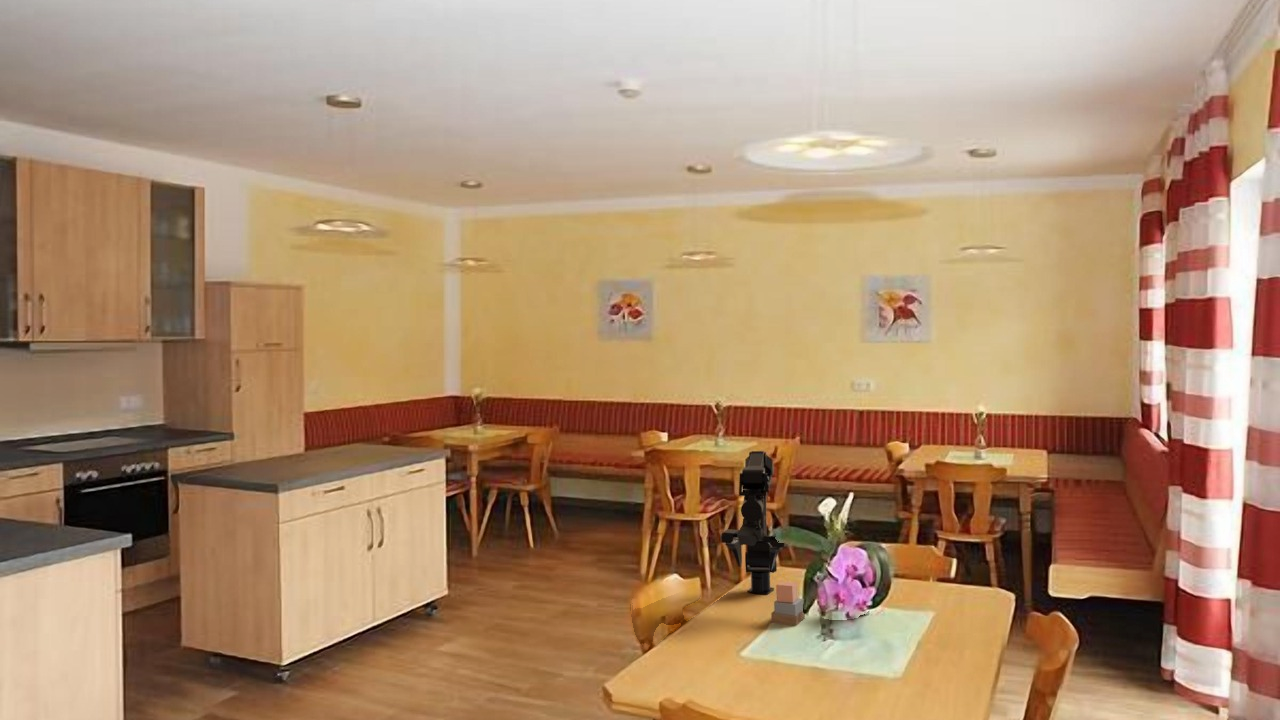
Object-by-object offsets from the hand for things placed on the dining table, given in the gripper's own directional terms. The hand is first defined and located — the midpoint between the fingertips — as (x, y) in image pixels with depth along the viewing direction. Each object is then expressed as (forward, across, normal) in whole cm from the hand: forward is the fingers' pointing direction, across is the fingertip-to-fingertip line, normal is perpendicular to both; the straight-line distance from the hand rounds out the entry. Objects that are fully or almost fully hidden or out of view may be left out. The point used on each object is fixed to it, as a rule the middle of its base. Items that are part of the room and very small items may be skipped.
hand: (755, 568), depth 276 cm
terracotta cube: (+6, +12, -8) cm, 15 cm away
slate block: (+9, +12, -8) cm, 17 cm away
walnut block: (+12, +12, -8) cm, 18 cm away
